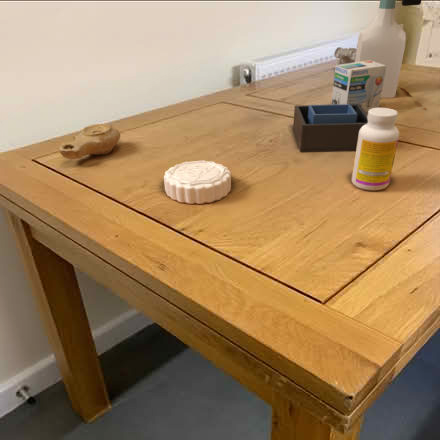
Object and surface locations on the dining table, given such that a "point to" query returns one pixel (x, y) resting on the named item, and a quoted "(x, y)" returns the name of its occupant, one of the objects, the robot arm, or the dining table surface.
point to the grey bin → (327, 132)
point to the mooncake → (197, 182)
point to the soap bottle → (384, 46)
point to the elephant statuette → (345, 55)
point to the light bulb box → (358, 84)
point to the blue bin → (331, 114)
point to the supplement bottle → (376, 150)
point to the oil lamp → (91, 141)
